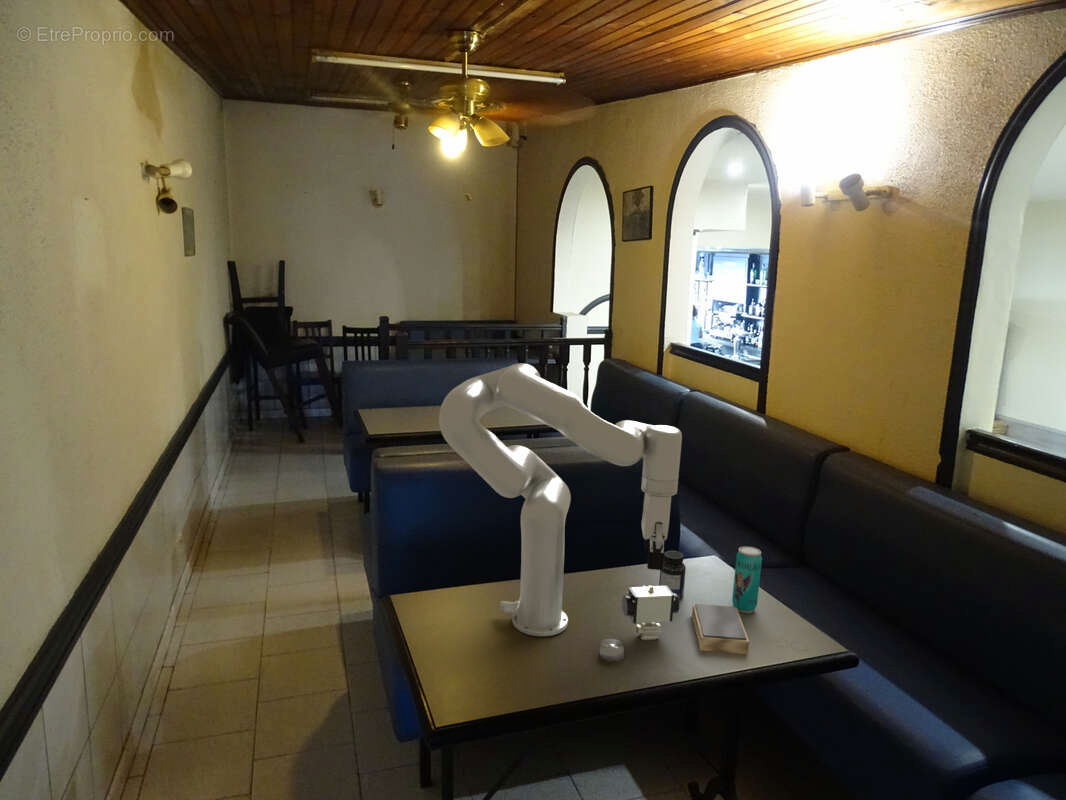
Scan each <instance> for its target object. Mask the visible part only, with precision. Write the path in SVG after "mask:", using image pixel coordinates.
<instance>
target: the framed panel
mask: <svg viewBox="0 0 1066 800" xmlns="http://www.w3.org/2000/svg"><path fill="white" fill-rule="evenodd" d="M691 617H692V618H693V619H692V622H694V623H693V626H695V627H694V631H695V634H696V638H697V643H698V646H699V651H704V652H713V651H714V652H713V653H717V652H718V653H726V652H727V653H726V654H740V655H749V646H750V640H749V637H748V635H747V634H748V633H747V632H746V629H745V626H744V623H743V622H742V619H741V616H740V612H739V611H738V610H737V607H734V606H732V605H731V606H729V605H728V606H727V605H715V604H701V603H695V604H694V603H693V604H692V610H691Z"/></svg>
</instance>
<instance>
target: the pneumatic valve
mask: <svg viewBox="0 0 1066 800" xmlns="http://www.w3.org/2000/svg"><path fill="white" fill-rule="evenodd" d="M621 609H622V613H623V615H624V616H625V617H629V619H630V621H631V623H633V624H636V625H635V634H636V635H637V636H638V637H640V639H641V640H642V641H656V639H657V640H658V639H659V635H661V634H662V626H661V624H660V623H665V622H667V623H669V622H673V618H675V615H674V614H678V613H679V612H680V611H679V610H680V600H679V599H678V596H677V594H676V593H672V592H671V590H670V589H669V588H668V586H659V585H650V584H649V585H648V586H645V585H642V586H635V587H634V586H633V587H628V591H627V592H626V595H625V594H624V595H622V597H621Z"/></svg>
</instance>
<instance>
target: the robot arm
mask: <svg viewBox="0 0 1066 800" xmlns="http://www.w3.org/2000/svg"><path fill="white" fill-rule="evenodd" d="M503 407H509V408H511V409H513V410H515V411H517V412H519V413H521V414H524V415H526V416H527V417H529V418H532V419H533V420H536V421H538V422H540V423H542V424H544V425H546V426H548V427H551V428H553V430H556V431H558V432H560V434H562V435H563V436H564V437H565V438H567V439H568V440H570V441H571V442H572V443H574V444H576V445H577V446H579V447H580V448H581V449H583V450H584V451H587V453H590V454H591V455H593V456H596V457H598V458H600V459H602V460H604V461H606V462H609V463H611V464H613V465H617V466H620V467H630V466H632V465H634V464H636V463H637V462H638V461H640V459H641V458H642V457H643V462H642V476H641V485H640V486H641V488H640V489H641V491H642V492H643V493H644V498H643V509H642V517H641V518H642V519H641V531H642V537H643V539H644V551H647V552H648V553H647V565H646V567H647V569H648V570H653V571H654V570H655V571H660V570H662V569H663V561H664V553H665V550H664V549H665V541H666V540H667V539H668V534H669V527H670V514H671V505H672V504H671V503H672V497H673V496H675V495H677V494H678V485H679V477H680V476H679V472H680V465H681V464H680V463H681V453H682V440H683V435H682V431H681V430H680V429H679V428H677V427H675V426H670V425H665V424H658V425H657V424H656V425H653V424H647V423H643V422H639V421H635V420H629V419H628V420H627V419H625V420H621V421H618V422H616V423H615V424H613V423H611V422H609V421H607V420H604V419H603V418H601V417H600V416H599V415H596V414H595V413H594V412H592V411H591V410H590V409H589V408H588V407H587V406H586V405H585V404H584V402H583V401H582V399H580V397H578V395H576V394H575V393H574V392H572V391H569V390H567V389H565V388H563V387H561V386H559V385H557V384H555V383H553V382H550V381H548V380H546V379H544V378H542V376H541V375H540V373H539V372H538V370H537V369H536V368H535V367H534V366H533V365H531V364H529V363H524V362H523V363H521V362H520V363H515V364H512V365H510V366H507V367H503V368H501V369H500V368H499V369H496V370H493V371H491V372H487V373H483V374H481V375H477V376H474V377H472V378H469V379H467V380H465V381H463V382H462V383H461V384H459V385H457V386H455V387H454V388H453V389H452V390H451V391H449V393H447V395H446V396H445V397H444V399H443V402H442V403H441V406H440V410H439V415H438V416H439V417H438V418H439V419H438V423H439V429H440V432H441V435H442V437H443V438H444V440H445V442H447V444H448V445H449V446H450V448H452V449H453V450H454V451H455V452H456V453H457V454H458V455H459V456H460V457H461V458H462V459H463V460H464V461H465V462H466V463H468V465H469V466H470V467H471V468H472V469H473V470H474V471H475V472H476V473H477V474H478V476H480V477H481V478H482V479H483V480H484V481H485V482H486V483H487V484H488V485H489V486H490V487H491V488H492V489H493V490H494V491H495V492H496V493H497V494H499V495H500V496H502V497H504V498H509V499H513V498H517V497H519V496H522V497H523V498H524V499H525V500H524V502H523V505H522V508H521V511H520V512H521V513H520V531H521V532H520V533H521V536H520V537H521V549H520V550H521V553H520V556H521V558H520V560H521V563H520V591H519V592H520V593H519V599H518V600H514V602H513V601H505V600H504V601H503V600H501V601H500V605H499V607H500V609H499V610H500V611H501V610H502V611H503V614H504V615H512V618H511V619H512V625H513V627H514V628H515V629H517V630H518V631H519V632H520V633H523V634H525V635H529V636H533V637H534V636H535V637H551V636H554V635H558V634H560V633H562V632H563V631H565V630H566V629H567V628H568V625H569V617H568V615H567V613H565V612H564V611H563V609H562V608H563V588H564V567H565V566H564V565H565V543H566V542H565V532H566V531H565V530H566V529H565V526H566V520H567V519H566V518H567V514H568V512H569V508H570V505H571V499H572V498H571V497H572V496H571V492H570V489H569V486H568V485H567V484H566V482H565V481H563V478H561V477H560V476H559V475H558V474H557V473H556V472H555V471H554V470H553V469H552V468H551V467H550V466H548V465H547V464H546V463H545V462H544V461H543V460H542V458H540V457H539V456H538V455H537V453H535V452H534V451H533V450H531V449H529V448H528V447H526V446H523V445H518V444H513V445H509V446H506V444H505V443H504V442H502V440H500V439H499V437H498V436H496V434H494V433H493V432H491V431H490V430H489V429H487V428H486V427H484V426H483V425H482V424H481V421H480V419H481V418H482V417H483V416H484V415H486V413H488V412H491V411H493V410H497V409H500V408H503Z"/></svg>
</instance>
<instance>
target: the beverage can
mask: <svg viewBox="0 0 1066 800" xmlns="http://www.w3.org/2000/svg"><path fill="white" fill-rule="evenodd" d="M762 560H763V557H762V551H761V550H760V549H759V548H757V547H753V546H747V545H745V546H740V547H739V548H738V552H737V553H736V561H735V569H734V579H733V588H732V589H733V590H732V598H731V601H732V606H733V607H737V610H738V613H741V612H742V613H741V614H752V613H753V612H754V611H755V609H756V608H757V606H758V599H759V589H760V580H761V571H762V562H763V561H762Z"/></svg>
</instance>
